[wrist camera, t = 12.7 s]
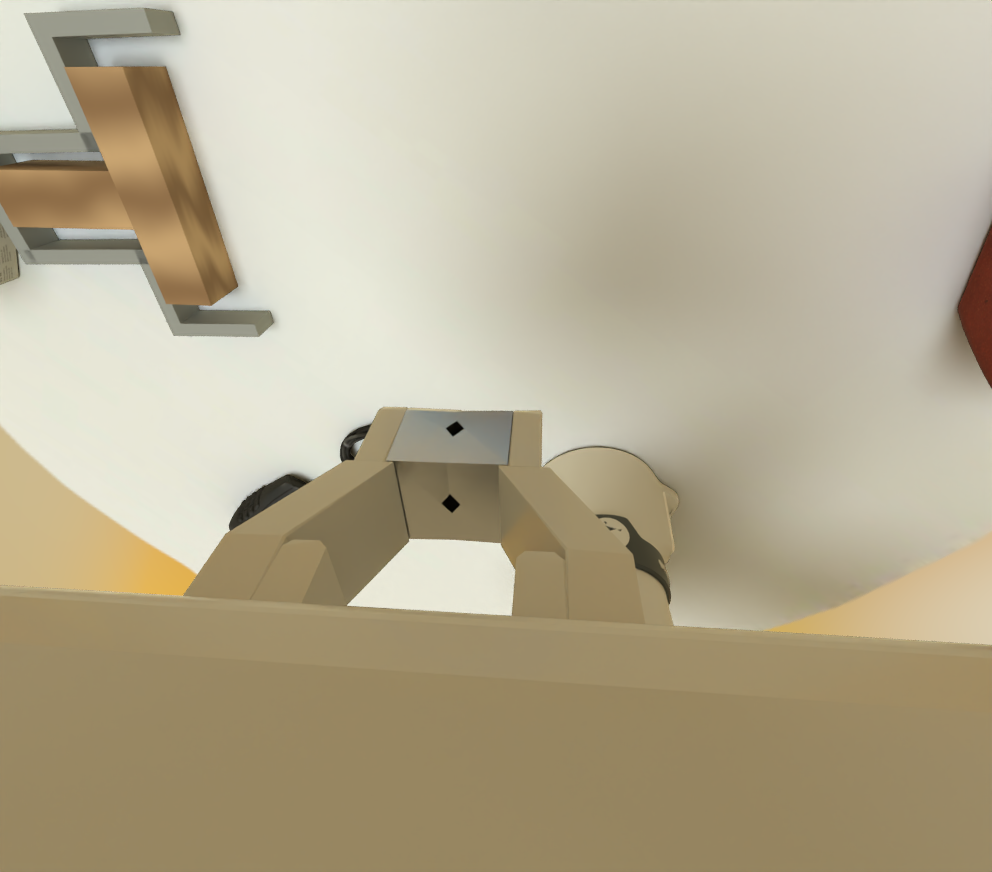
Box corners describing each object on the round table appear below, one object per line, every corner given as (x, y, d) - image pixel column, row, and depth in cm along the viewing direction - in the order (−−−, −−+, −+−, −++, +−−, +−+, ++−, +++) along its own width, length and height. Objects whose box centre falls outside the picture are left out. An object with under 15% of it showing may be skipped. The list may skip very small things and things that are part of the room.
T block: (238, 286, 44) (211, 305, 41) (94, 282, 45) (55, 300, 42) (165, 66, 35) (122, 66, 31) (-16, 66, 36) (-78, 67, 32)
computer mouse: (224, 508, 64) (201, 540, 60) (399, 391, 50) (385, 422, 46) (282, 548, 68) (264, 581, 64) (457, 450, 55) (450, 484, 50)
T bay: (273, 322, 46) (258, 336, 44) (92, 321, 48) (68, 334, 46) (172, 11, 33) (143, 7, 30) (-76, 23, 34) (-123, 20, 32)
